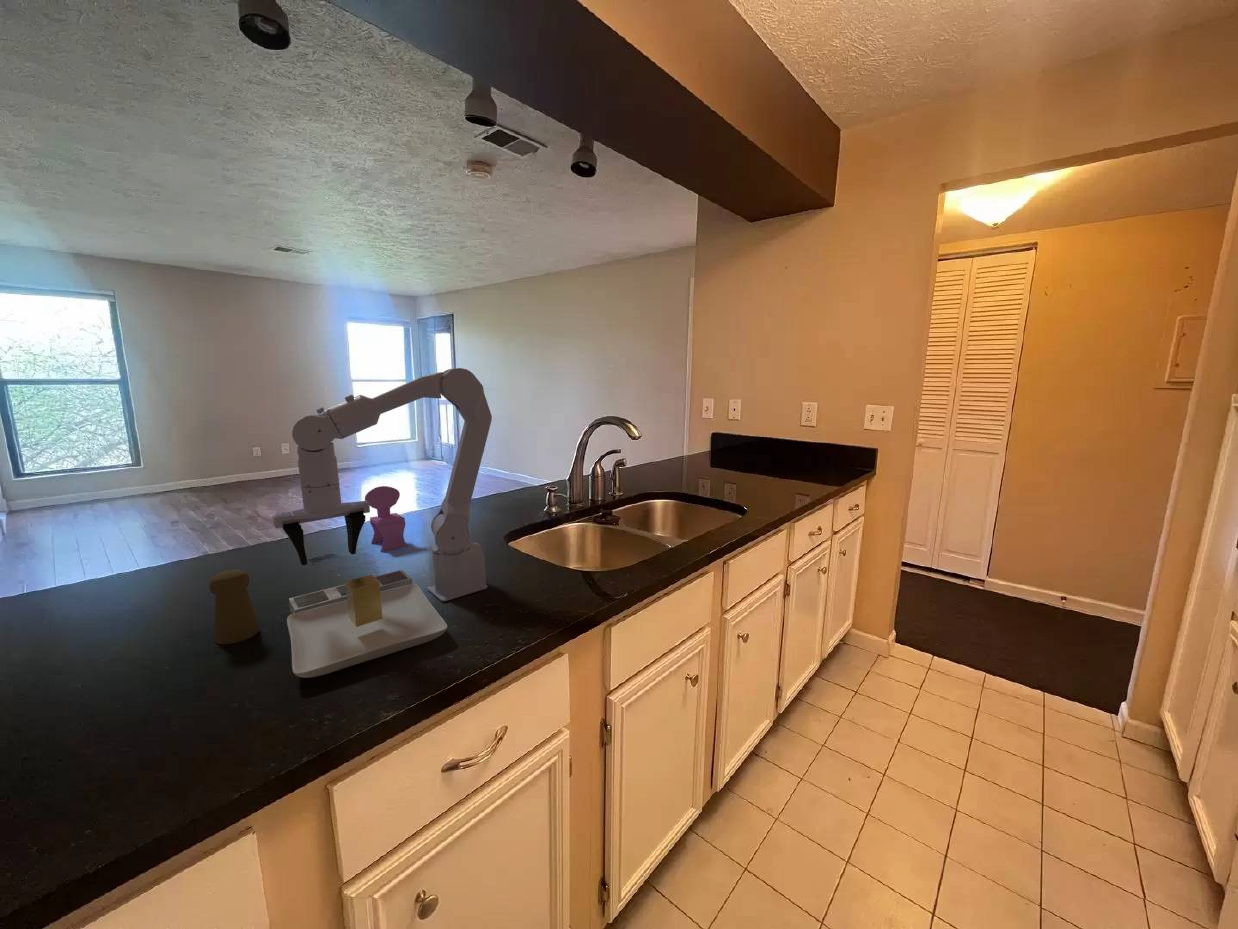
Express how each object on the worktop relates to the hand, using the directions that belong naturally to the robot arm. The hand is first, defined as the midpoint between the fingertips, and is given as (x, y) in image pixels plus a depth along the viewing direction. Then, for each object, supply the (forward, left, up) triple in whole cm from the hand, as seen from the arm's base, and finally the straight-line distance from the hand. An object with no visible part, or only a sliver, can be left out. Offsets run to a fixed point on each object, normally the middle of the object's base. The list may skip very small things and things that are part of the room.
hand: (328, 558), depth 87 cm
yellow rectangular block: (-2, +13, -8) cm, 15 cm away
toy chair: (-19, -31, -11) cm, 38 cm away
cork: (+14, -2, -11) cm, 18 cm away
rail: (-4, -3, -10) cm, 12 cm away
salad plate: (-2, +13, -11) cm, 17 cm away
